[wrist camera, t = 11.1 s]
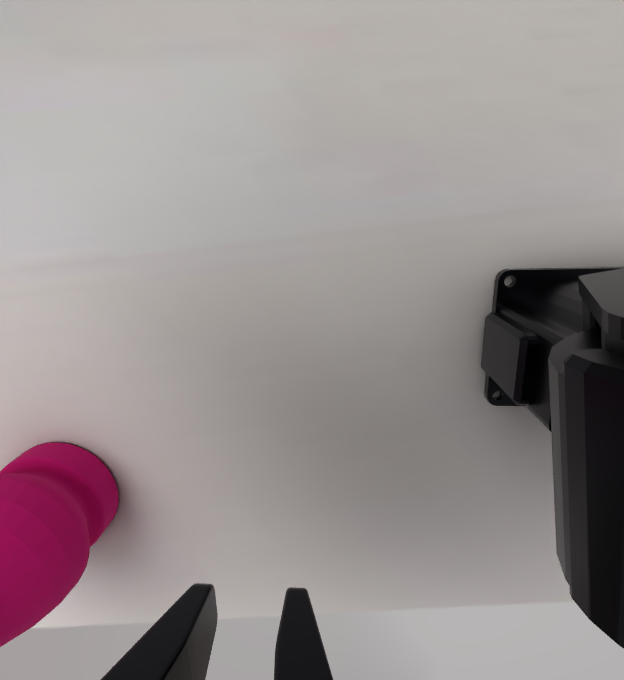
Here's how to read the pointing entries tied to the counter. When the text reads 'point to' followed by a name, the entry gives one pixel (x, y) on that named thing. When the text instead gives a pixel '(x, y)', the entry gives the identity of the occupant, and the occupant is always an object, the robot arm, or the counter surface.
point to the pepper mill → (48, 529)
